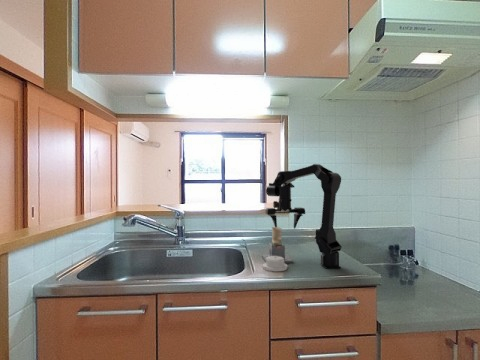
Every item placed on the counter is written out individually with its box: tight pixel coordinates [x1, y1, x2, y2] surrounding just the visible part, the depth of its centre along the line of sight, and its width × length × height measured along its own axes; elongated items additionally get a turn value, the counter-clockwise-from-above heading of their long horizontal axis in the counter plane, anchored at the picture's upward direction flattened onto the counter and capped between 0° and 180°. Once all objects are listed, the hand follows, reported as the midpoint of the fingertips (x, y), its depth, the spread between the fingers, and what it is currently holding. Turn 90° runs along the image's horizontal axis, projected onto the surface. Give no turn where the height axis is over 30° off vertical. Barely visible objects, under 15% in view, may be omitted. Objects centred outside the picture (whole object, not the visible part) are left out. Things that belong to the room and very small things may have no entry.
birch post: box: [271, 226, 283, 246], centre depth 127 cm, size 4×4×10 cm
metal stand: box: [261, 242, 294, 264], centre depth 126 cm, size 12×12×7 cm
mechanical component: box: [262, 256, 288, 272], centre depth 114 cm, size 10×4×10 cm
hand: (285, 228), depth 134 cm, fingers open, 9 cm apart
